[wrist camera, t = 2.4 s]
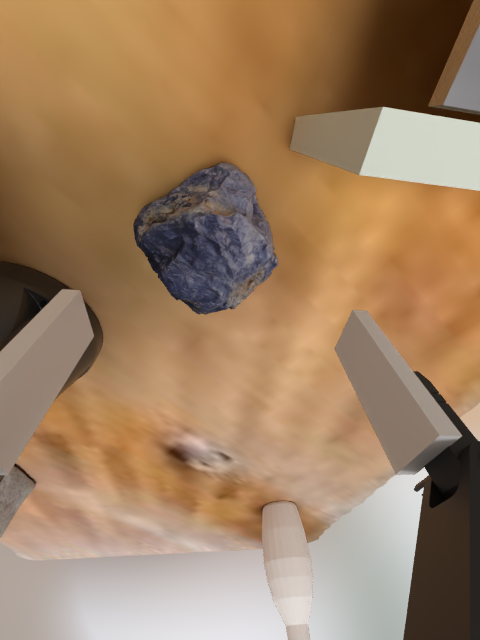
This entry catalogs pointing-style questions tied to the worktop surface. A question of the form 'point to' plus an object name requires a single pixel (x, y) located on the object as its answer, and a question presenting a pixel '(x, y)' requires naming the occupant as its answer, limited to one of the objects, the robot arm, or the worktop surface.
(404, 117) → the frame
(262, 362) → the worktop surface
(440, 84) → the trapdoor
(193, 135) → the worktop surface
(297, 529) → the bottle
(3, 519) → the decorative stone
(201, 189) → the rock
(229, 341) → the worktop surface
